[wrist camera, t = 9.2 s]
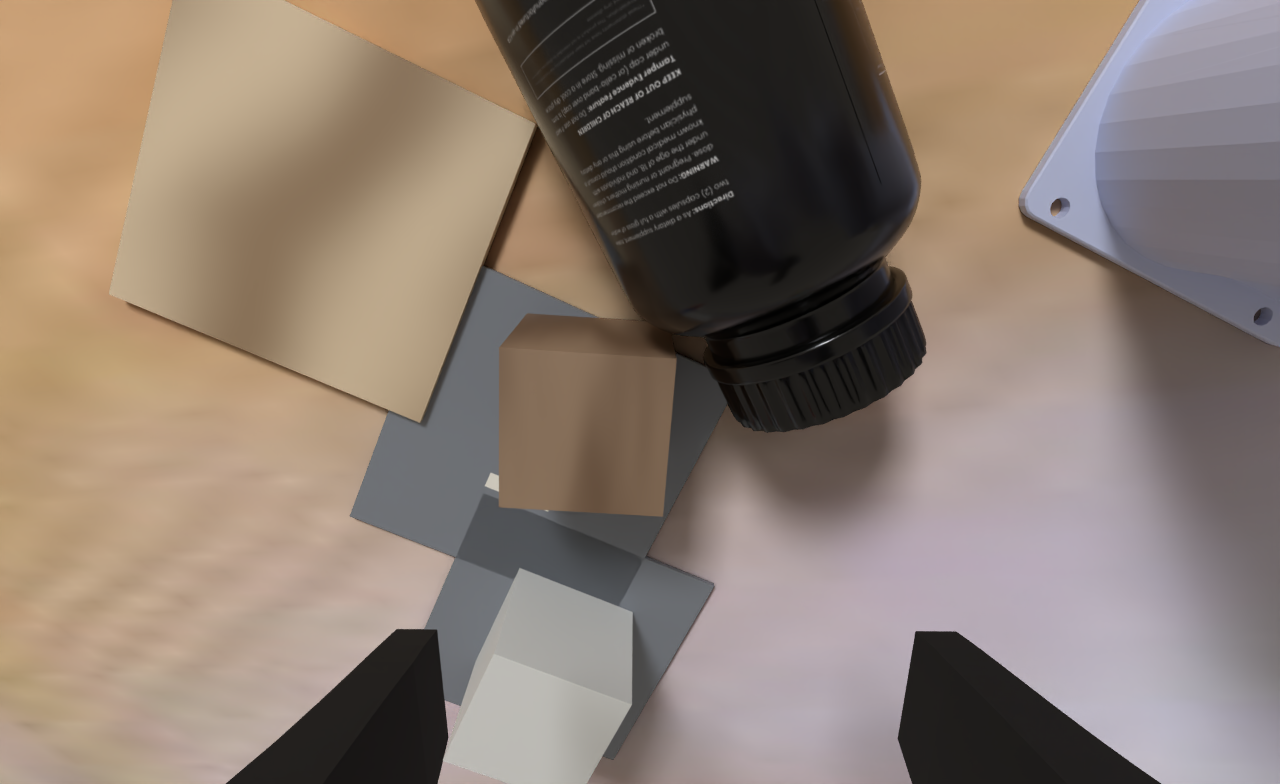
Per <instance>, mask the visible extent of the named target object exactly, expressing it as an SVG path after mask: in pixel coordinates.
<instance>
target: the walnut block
mask: <svg viewBox="0 0 1280 784" xmlns="http://www.w3.org/2000/svg"><path fill="white" fill-rule="evenodd" d="M676 362H677V358H676V354H675V349H674V345H673V341H672V337H671V333H668V332H665V331H663V330H660V329H658V328H657V327H655V326H653V325H651V324H650V323H648V322H647V321H638V320H622V319H607V318H591V317H576V316H561V315H545V314H530V313H527V314H526V315H525V316H524V318H523V319H522V320H521V321H520V322H519V324H518V325H517V326H516V327H515V329H514V330H513V331H512V332H511V334H510V335H509V336H508V337H507V338H506V340H505V341H504V342H503V343H502V345H501V346H500V347H499V507H501V508H519V509H537V510H554V511H572V512H590V513H607V514H625V515H643V516H660V517H663V510H664V498H665V487H666V476H667V464H668V453H669V441H670V430H671V419H672V407H673V396H674V384H675V373H676Z"/></svg>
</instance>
